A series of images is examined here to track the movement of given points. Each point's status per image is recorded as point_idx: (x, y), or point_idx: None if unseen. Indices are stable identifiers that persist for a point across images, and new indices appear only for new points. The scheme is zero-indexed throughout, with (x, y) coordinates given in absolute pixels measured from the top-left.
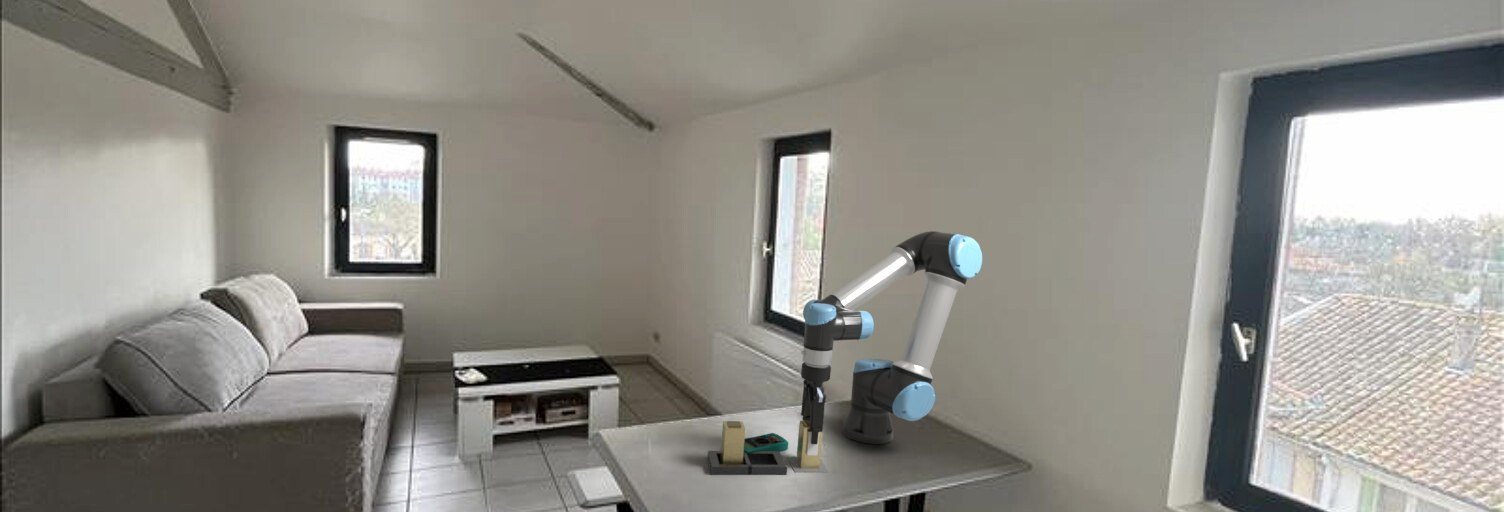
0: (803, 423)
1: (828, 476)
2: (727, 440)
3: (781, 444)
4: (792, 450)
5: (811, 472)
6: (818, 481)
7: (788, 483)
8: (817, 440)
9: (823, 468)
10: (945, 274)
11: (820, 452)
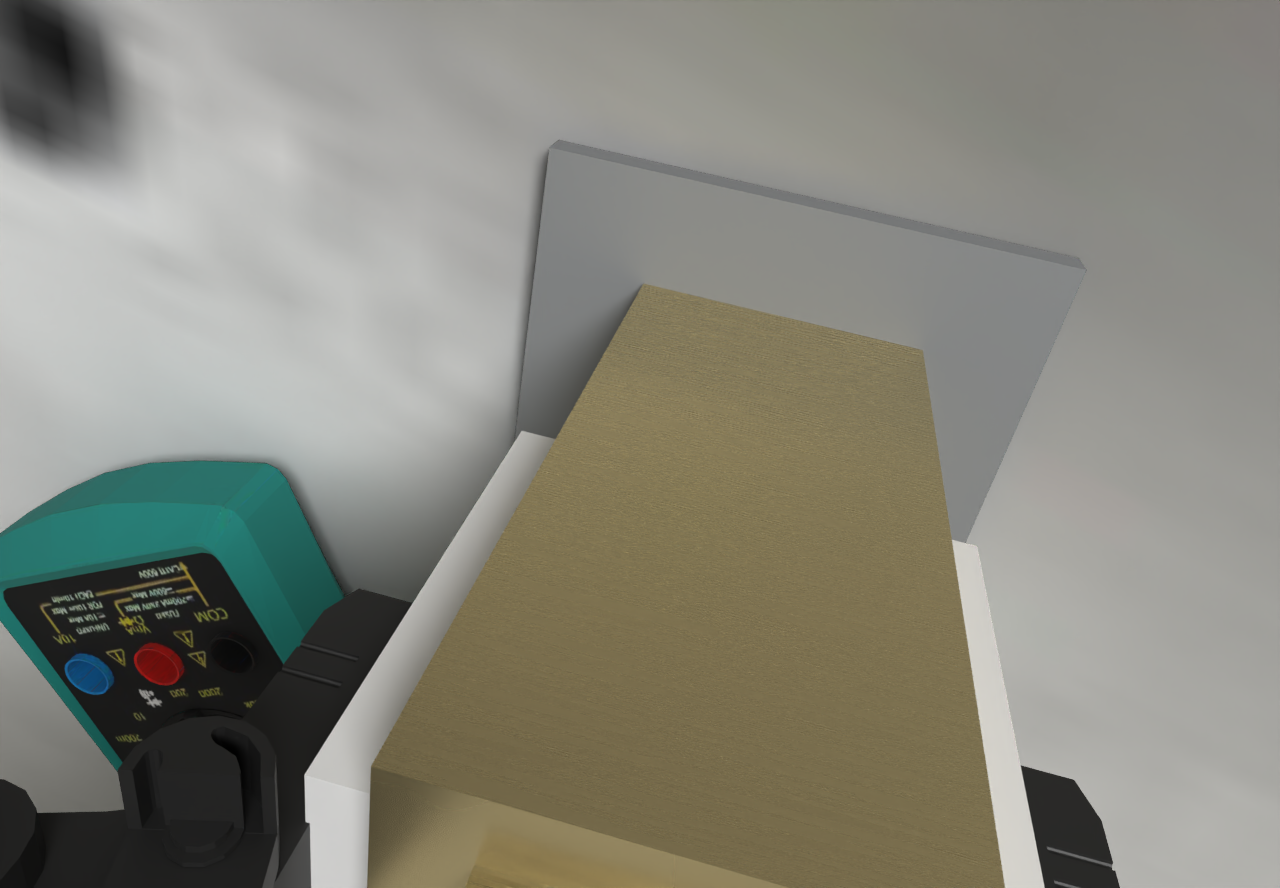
0: None
1: (1142, 297)
2: None
3: (287, 607)
4: (241, 362)
5: (980, 496)
6: (1216, 503)
7: (1094, 798)
8: (1115, 873)
9: (941, 291)
10: None
11: (940, 486)
